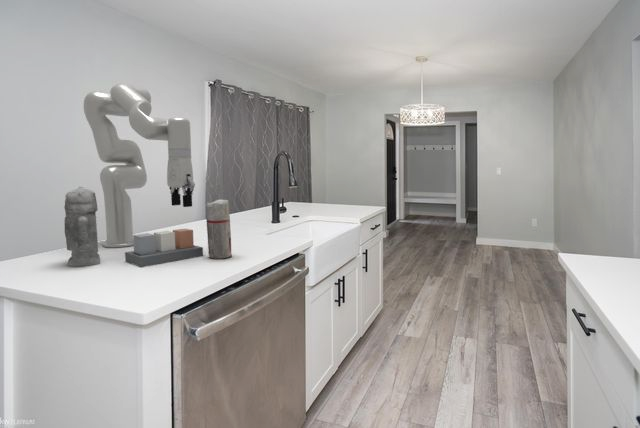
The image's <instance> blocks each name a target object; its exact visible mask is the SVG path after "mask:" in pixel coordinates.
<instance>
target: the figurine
mask: <svg viewBox="0 0 640 428" xmlns="http://www.w3.org/2000/svg"><path fill="white" fill-rule="evenodd" d="M97 203H98V202H97V197H96V192H95V191H93V190H91V189H89V188H88V189H87V188H84V186H79V187H78V188H75V189H72V190H70V191H68V192H67V193H66V194H65V200H64V207H63V208H64V212H65V217H64V236H65V239H66V241H65V242H66V250H67V251H69V252H71V254H70V255H71V256H70V257H69V258H68V261H67V266H68V267H85V266H94V265H99V264H101V257H100V254H99V253H98V252H99V247H98V243H99V242H98V229H97V226H98V225H97V224H98V223H97V216H96V214H97V213H96V212H97V211H98V204H97Z"/></svg>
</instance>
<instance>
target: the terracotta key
mask: <svg viewBox="0 0 640 428" xmlns="http://www.w3.org/2000/svg"><path fill="white" fill-rule="evenodd" d="M172 232H175V247H176V248H180V249H182V248H188V247H194V230H193V229H189V228H178V229H172Z"/></svg>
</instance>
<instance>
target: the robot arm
mask: <svg viewBox="0 0 640 428" xmlns="http://www.w3.org/2000/svg"><path fill="white" fill-rule="evenodd" d="M151 102H152V96H151V94H150V92H149V90H148V89H147V88H145V87H143V86H139V85H134V84H129V83H117V84H115V85H113V86H112V87H111V88H110V91H109V92H107V91H92V92H89V93H87V94H86V95H85V97H84V100H83V112H84V115H85V118H86V120H87V123H88V125H89V126H90V129H91V131H92V136H93V139H94V143H95V147H96V151H97V154H98V157H99V159H100V161H102V162H103V163H105V164H106V163H107V164H111V165H108V166H106V167H104V168H102V169H101V171H100V173H99V180H100V184H101V188H102V192H103V198H104V199H103V200H104V201H103V202H104V215H105V230H106V241H104V242H103V243H102V246H103V247H104V248H124V247H132V246H134V241H133V235H134V232H133V231H134V230H133V229H134V228H133V211H132V200H131V197H130V195H129V194H128V193H127V191H126V190H134V189H135V190H136V189H141V188H143V187H144V186H145V185H146V184H147V182H148V181H147V180H148V176H147V171H146V167H145V163H144V159H143V156H142V152H141V148H140V147H139V145H138V144H137V143H136V142H135V141H134V140H131V139H121V138H120V137H119V135H118V133H117V129H116V127H115V125H114V124H113V122H112V121H111V119H109V118H108V117H107V116H114V117H115V116H116V117H117V116H118V117H128V121H129V124H130V127H131V128H132V130H133V131H134V132H136V134H137V135H139V136H141V137H142V138H143V139H145V140H150V141H151V140H152V141H165V142H166V141H167V151H168V153H167V154H168V158H167V159H168V160H167V172H166V178H167V179H166V180H167V181H166V184H167V186H168V188H169V191H170V193H169V194H170V195H171V197H170V198H171V199H170V200H171V206H181V205H182V208H189V207H193V195H194V194H193V192H194V189H195V186H196V183H195V181H194V173H193V164H192V141H191V122H190V120H189V119H187V118H184V117H171V118H160V117H150V115H151V114H152V110H153V109H152V104H151ZM112 164H113V165H112ZM118 164H119V165H118ZM120 164H121V165H120ZM180 191H182V193H183V195H182V200H181V193H180ZM181 201H182V202H181ZM181 203H182V204H181Z"/></svg>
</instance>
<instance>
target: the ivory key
mask: <svg viewBox="0 0 640 428" xmlns="http://www.w3.org/2000/svg"><path fill="white" fill-rule="evenodd" d="M153 235H155V243H156V250H157V251H160V252H164V251H170V250H175V232H173V231H170V230H164V231H163V230H162V231H156V232H153Z"/></svg>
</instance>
